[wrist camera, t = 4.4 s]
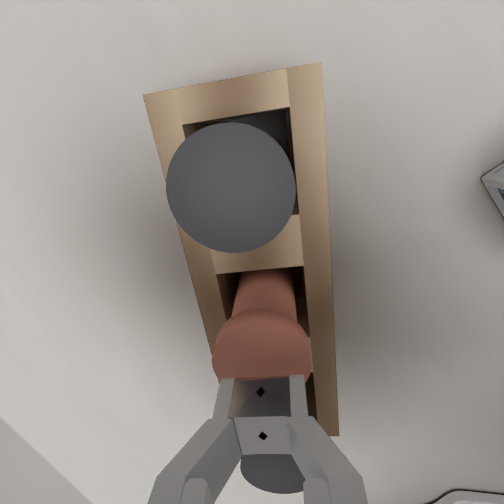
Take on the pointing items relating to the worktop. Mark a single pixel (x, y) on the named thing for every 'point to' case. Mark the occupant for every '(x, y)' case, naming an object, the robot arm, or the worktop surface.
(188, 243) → the oak socket block
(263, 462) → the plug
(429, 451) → the worktop surface
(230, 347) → the plug mid
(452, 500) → the robot arm
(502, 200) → the light bulb box
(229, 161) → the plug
